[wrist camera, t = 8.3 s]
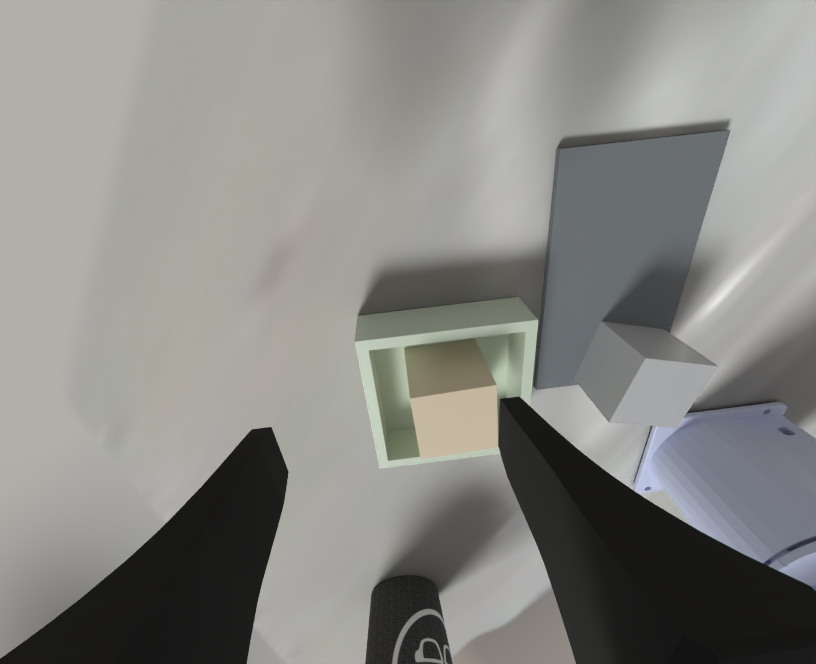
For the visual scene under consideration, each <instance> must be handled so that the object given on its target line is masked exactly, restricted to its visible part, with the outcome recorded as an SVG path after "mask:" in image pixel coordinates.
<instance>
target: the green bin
mask: <svg viewBox="0 0 816 664" xmlns="http://www.w3.org/2000/svg"><path fill="white" fill-rule="evenodd" d="M537 330H538V319H537V318H536V316H535V315H534V314H533V313H532V312H531V311H530V310H529V308H528V307H527V306H526V305H525V304H524V303H523V301H522V300H521V299H520V298H519V297H512V298H504V299H495V300H487V301H479V302H470V303H462V304H453V305H445V306H436V307H428V308H419V309H411V310H403V311H394V312H386V313H377V314H369V315H360V316H358V317H357V326H356V335H355V346H356V351H357V356H358V361H359V366H360V371H361V376H362V382H363V387H364V392H365V397H366V402H367V407H368V412H369V417H370V422H371V427H372V433H373V438H374V443H375V448H376V453H377V458H378V463H379V468H380V469H382V468H390V467H398V466H406V465H414V464H422V463H430V462H437V461H445V460H453V459H461V458H469V457H477V456H485V455H493V454H501V453H500V450H499V447H495V448H489V449H482V450H476V451H470V452H463V453H457V454H451V455H444V456H438V457H431V458H425V459H420V453H419V447H418V442H417V436H416V430H415V424H414V419H413V413H412V407H411V402H410V395H409V386H408V378H407V370H406V362H405V353H404V349H409V348H416V347H422V346H428V345H435V344H441V343H447V342H454V341H460V340H466V339H473V338H475V340H476V342H477V344H478V346H479V348H480V351H481V353H482V355H483V357H484V359H485V361H486V363H487V365H488V367H489V370H490V372H491V374H492V376H493V378H494V380H495V382H496V384H497V416H498V438H499V412H500V399H503V398H511V397H520V398H522V399H523V400H524V401H525V402H526V403H527V404H528V405H529V406H530V405H531V394H532V383H533V372H534V362H535V351H536V340H537Z"/></svg>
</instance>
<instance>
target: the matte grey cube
mask: <svg viewBox="0 0 816 664" xmlns="http://www.w3.org/2000/svg"><path fill="white" fill-rule="evenodd" d="M718 367H719V366H717V365H716V364H714V363H713V362H711V361H710V360H709V359H707V358H706V357H704V356H703V355H701V354H700V353H698V352H697V351H695V350H694V349H692V348H691V347H689V346H688V345H686V344H685V343H684V342H682V341H681V340H679V339H678V338H676V337H675V336H673V335H672V334H670V333H669V332H667V331H666V330H664V329H659V328H651V327H643V326H635V325H627V324H619V323H611V322H603V321H601V323H600V325H599V327H598V329H597V331H596V333H595V335H594V337H593V340H592V342H591V344H590V346H589V348H588V350H587V352H586V354H585V357H584V359H583V361H582V363H581V365H580V367H579V369H578V371H577V373H576V376H575V378H574V379H575V381H576V382H577V383H578V384H579V386H580V387H581V388H582V389H583V391H584V392H585V393H586V394H587V396H588V397H589V398H590V399H591V401H592V402H593V403H594V404H595V406H596V407H597V408H598V409H599V411H600V412H601V413H602V414H603V416H604V417H605V418H606V419H607V421H608V422H610V423H622V424H635V425H647V426H659V427H671V428H677V426H678V425H679V423H680V422H681V420H682V419H683V418H684V416H685V415H686V413H687V412H688V410H689V409H690V407H691V406H692V404H693V403H694V402H695V400H696V399H697V397H698V396H699V394H700V393H701V391H702V390H703V389H704V387H705V386H706V384H707V383H708V381H709V380H710V378H711V377H712V376H713V374H714V373H715V371H716V370H717V368H718Z"/></svg>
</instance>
